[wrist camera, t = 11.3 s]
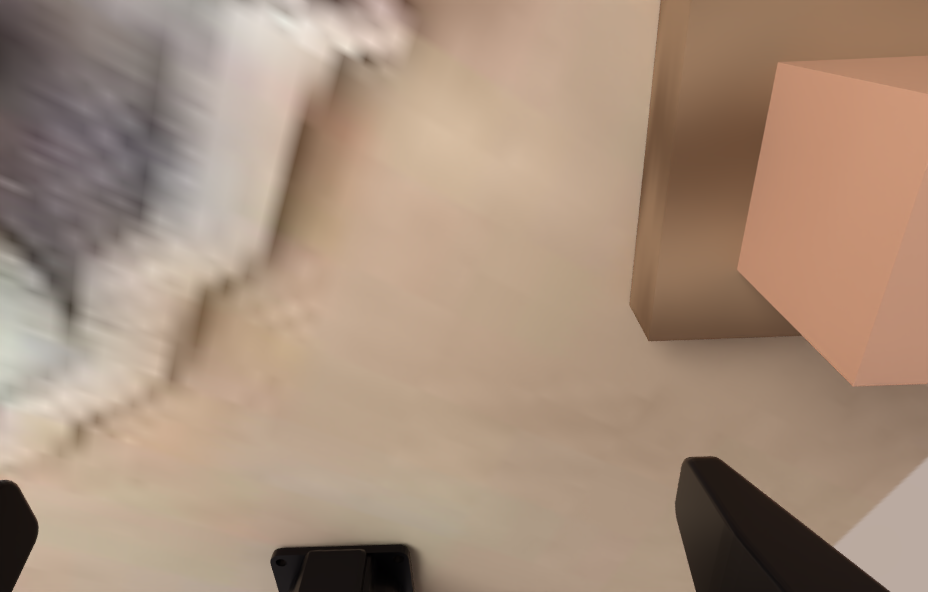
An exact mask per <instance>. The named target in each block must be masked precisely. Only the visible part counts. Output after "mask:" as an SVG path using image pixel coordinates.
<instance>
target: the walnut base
mask: <svg viewBox="0 0 928 592" xmlns="http://www.w3.org/2000/svg"><path fill="white" fill-rule="evenodd" d="M909 56H928V0H661V3H660V13H659V23H658V33H657V42H656V52H655V62H654V72H653V81H652V91H651V101H650V111H649V120H648V130H647V140H646V150H645V159H644V169H643V179H642V189H641V198H640V208H639V218H638V228H637V237H636V247H635V257H634V266H633V276H632V286H631V296H630V307H631V309H632V311H633V313H634V314H635V316H636V318H637V320H638V322H639V324H640V326H641V327H642V329H643V331H644V333H645V335H646V337H647V339H648V341H667V340H694V339H721V338H748V337H776V336H802V335H801V334H800V333H799V332H798V331H797V330H796V329H795V328H794V327H793V326H792V325H791V324H790V323H789V322H788V321H787V320H786V319H785V318H784V317H783V316H782V315H781V314H780V313H779V312H778V311H777V310H776V309H775V308H774V307H773V306H772V305H771V304H770V303H769V302H768V301H767V300H766V299H765V298H764V297H763V296H762V295H761V294H760V293H759V292H758V291H757V290H756V289H755V288H754V286H753V285H752V284H751V283H750V282H749V281H748V280H747V279H746V278H745V277H744V276H743V275H742V274H741V273H740V272H739V271H738V270H737V267H738V262H739V257H740V252H741V246H742V241H743V236H744V231H745V226H746V221H747V216H748V211H749V206H750V201H751V196H752V191H753V186H754V181H755V176H756V170H757V165H758V160H759V155H760V150H761V145H762V140H763V135H764V130H765V125H766V120H767V115H768V110H769V105H770V100H771V94H772V89H773V84H774V79H775V74H776V69H777V64H778V62H794V61H817V60H840V59H863V58H886V57H909Z"/></svg>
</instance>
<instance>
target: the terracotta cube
mask: <svg viewBox="0 0 928 592" xmlns="http://www.w3.org/2000/svg"><path fill="white" fill-rule="evenodd" d="M737 270H738V271H739V272H740V273H741V274H742V275H743V276H744V277H745V278H746V279H747V280H748V281H749V282H750V283H751V284H752V285H753V286H754V288H755V289H756V290H757V291H758V292H759V293H760V294H761V295H762V296H763V297H764V298H765V299H766V300H767V301H768V302H769V303H770V304H771V305H772V306H773V307H774V308H775V309H776V310H777V311H778V312H779V313H780V314H781V315H782V316H783V317H784V318H785V319H786V320H787V321H788V322H789V323H790V324H791V325H792V326H793V327H794V328H795V329H796V330H797V331H798V332H799V333H800V334H801V335H802V336H803V337H804V338H805V339H806V340H807V341H808V342H809V343H810V344H811V345H812V346H813V347H814V348H815V349H816V350H817V351H818V352H819V353H820V354H821V355H822V356H823V357H824V358H825V359H826V360H827V361H828V362H829V363H830V364H831V365H832V366H833V367H834V368H835V369H836V370H837V371H838V372H839V373H840V374H841V375H842V376H843V377H844V378H845V379H846V380H847V381H848V382H849V383H850V384H851V385H852V386H878V385H908V384H928V56H909V57H886V58H863V59H840V60H817V61H794V62H778V64H777V69H776V74H775V79H774V84H773V89H772V94H771V100H770V105H769V110H768V115H767V120H766V125H765V130H764V135H763V140H762V145H761V150H760V155H759V160H758V165H757V170H756V176H755V181H754V186H753V191H752V196H751V201H750V206H749V211H748V216H747V221H746V226H745V231H744V236H743V241H742V246H741V252H740V257H739V262H738V267H737Z"/></svg>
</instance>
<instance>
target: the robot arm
mask: <svg viewBox="0 0 928 592" xmlns="http://www.w3.org/2000/svg"><path fill="white" fill-rule="evenodd" d="M675 511H676V518H677V522H678V526H679V530H680V534H681V537H682V541H683V545H684V549H685V552H686V556H687V560H688V564H689V567H690V571H691V575H692V579H693V582H694V586H695V590H696V592H890V591H889V590H887V589H886V588H885V587H884V586H882V585H881V584H880V583H878V582H877V581H876V580H875V579H873V578H872V577H871V576H869V575H868V574H867V573H865V572H864V571H863V570H861V569H860V568H859V567H858V566H857V565H855V564H854V563H853V562H851V561H850V560H849V559H847V558H846V557H845V556H844V555H843V554H841V553H840V552H839V551H837V550H836V549H835V548H834V547H832V546H831V545H830V544H828V543H827V542H826V541H825V540H823V539H822V538H821V537H819V536H818V535H817V534H816V533H814V532H813V531H812V530H811V529H809V528H808V527H807V526H805V525H804V524H803V523H802V522H800V521H799V520H798V519H796V518H795V517H794V516H793V515H791V514H790V513H789V512H787V511H786V510H785V509H784V508H782V507H781V506H780V505H778V504H777V503H776V502H775V501H773V500H772V499H771V498H770V497H768V496H767V495H766V494H764V493H763V492H762V491H761V490H759V489H758V488H757V487H755V486H754V485H753V484H752V483H750V482H749V481H748V480H746V479H745V478H744V477H743V476H741V475H740V474H739V473H738V472H736V471H735V470H734V469H732V468H731V467H730V466H729V465H727V464H726V463H725V462H723V461H722V460H721V459H719V458H717V457H713V456H708V457H689V458H686V459H685V460H684V461H683V463H682V466H681V472H680V478H679V483H678V489H677V495H676V501H675ZM38 528H39V527H38V521H37V519H36V517H35V515H34V513H33V512H32V510H31V508H30V506H29V504H28V503H27V501H26V499H25V497H24V495H23V493H22V492H21V490H20V488H19V487H18V485H17V484H16V483H14V482H12V481H9V480H0V592H12V590H13V588H14V586H15V584H16V582H17V580H18V578H19V576H20V573H21V571H22V569H23V567H24V565H25V563H26V561H27V559H28V557H29V555H30V552H31V550H32V548H33V546H34V544H35V542H36V539H37V536H38ZM271 566H272V570H273V573H274V577H275V580H276V583H277V587H278V590H279V592H415V590H414V582H413V574H412V567H411V559H410V551H409V549H408V548H407V547H406V546H403V545H372V546H339V547H306V548H280V549H277V550H275V551H274V552H273V555H272V557H271Z"/></svg>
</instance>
